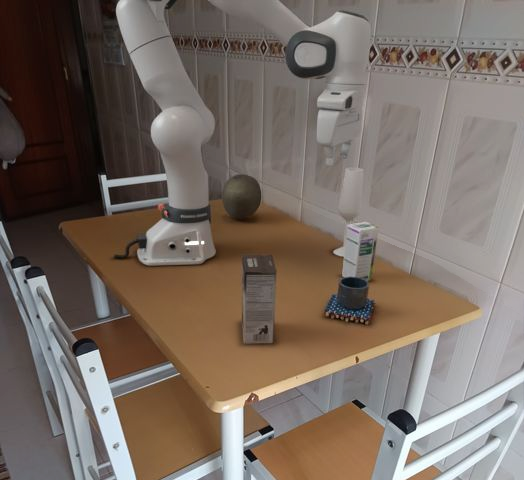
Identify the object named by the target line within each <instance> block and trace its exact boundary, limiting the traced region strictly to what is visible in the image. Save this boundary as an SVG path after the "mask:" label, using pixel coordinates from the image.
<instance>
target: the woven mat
mask: <svg viewBox="0 0 524 480" xmlns="http://www.w3.org/2000/svg"><path fill="white" fill-rule="evenodd" d="M337 294H338V293H335V294H332V295H331V297H330V299H329V301H328V302H327V305H325V308H324V312H323V314H324V315H325V317H330V318H331V319H332V320H333V319H334V318H336V319H339V318H340V320H341V321H343V320H344V319H345V322H349V320H350V321H355V324H357V323H359V322H360V323H361V324H362V323H364V324H365V325H366V326H367V325H369V322H370V321H371V319H373V318H372V317H373V313H374V311H375V307H376V302H375V300H374V299H369V298H367V303H366V305H365V306H364V307H363V308H361V309H358V310H350V309H345V308H343V307H341V306H340V305H339V303H338V302H337Z"/></svg>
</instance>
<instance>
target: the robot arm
mask: <svg viewBox="0 0 524 480" xmlns="http://www.w3.org/2000/svg"><path fill="white" fill-rule="evenodd" d="M177 1H178V0H118V2H117V4H116V8H115V14H116V15H115V16H116V20H117V23H118V27H119V31H120V34H121V37H122V39H123V43H124V44H125V48H126V50H127V52H128V55H129V57H130V60H131V61H132V64H133V66H134V69H135V71H136V73H137V75H138V77H139V80H140V82H141V85H142V86H143V89H144V90H145V92H146V93H148V95H149V96H150V97H152V98H153V100H154V101H155V103H156V104H157V106H158V107H159V108H160V110H161V112H160V113H159V114H158V115H157V116H156V117H155V118H154V120H153V121H152V123H151V125H150V137H151V140H152V143H153V145H154V146H155V148H156V149H157V150H158V151H159V154H160V158H161V160H162V164H163V167H164V172H165V176H166V185H167V197H168V199H167V200H168V203H167V204H166V205H165V204H164V203H163V202H162V203H159V204H158V205H157V208H158V210H159V212H161V215H162V216H161V217H162V218H161V219H160V220H159V221H157V222H156V223H155V224H154V225H153V226H151V227H150V228H149V229H147V231H146V233H145V232H141V233H136V238H135V239H134V240H132V241H130V242H128V243H127V245H126V246H125V253H123V254H113V255H114V256H113V257H114V259H126V258H128V257H129V255H130V249H131V247H132V246H134V245H136V244H137V245H138V249H137V251H136V253H137V255H136V256H137V259H138V260H139V262H140V263H142V264H143V265H146V266H149V267H150V266H154V267H155V266H181V265H182V266H183V265H185V266H187V265H201V264H203V263H204V262H205V261H206V260H208V259H211V258H212V257H214V256H215V255H216V254H217V251H216V247H215V245H214V240H213V234H212V229H211V223H212V207H211V204H210V197H209V175H208V172H207V170H206V169H205V166H204V162H203V158H202V151H201V150H202V149H201V148H202V147H203V146H204V145H205V144H207V143H208V142H209V141H210V140H211V138H212V136H213V135H214V132H215V128H216V120H215V117H214V115H213V113H212V111H211V109H210V108H208V107H207V105H206V104H205V103H204V101H203V99H202V97H201V96H200V94H199V92H198V91H197V89H196V86H194V84H193V82H192V81H191V79H190V77H189V75H188V73H187V71H186V69H185V67H184V64H183V62H182V59H181V57H180V55H179V52H178V50H177V47H176V44H175V42H174V40H173V37H172V34H171V33H170V30H169V28H168V25H167V22H166V18H165V10H170V9H172V8H173V6H174V5H175V4H176V2H177ZM207 2H208V3H210V5H213V6H214V7H216V8H217V9H219V10H220V11H222V12H223V13H225V14H227V15H229V16H232V17H235V18H239V19H242V20H245V21H249V22H251V23H254V24H256V25H258V26H260V27H262V28H263V29H265V30H266V31H267V32H268V33H269V34H270V35H272V36H273V37H274V38H275V39H277V40H278V41H279V42H280V43H281V44H283V46H284V47H285V52H284V53H285V54H284V57H285V63H286V66H287V68H288V70H289V71H290V72H291V74H292V75H294V76H295V77H297V78H299V79H302V80H322V79H325V78H326V80H325V88H324V90H323V91H322V93H321V94H320V95H319V96H318V97H317V99H316V108H317V109H319V110H318V112H317V119H316V123H317V124H316V142H317V145H318V146H320V147H324V154H325V165H326V166H333V165H335V164H336V158H337V157H336V156H335V151H336V146H338V145H341V144H342V147H341V150H340V153H339V158H340V160H341V159H342V160H346V159H349V157H350V152H351V148H352V146H353V142H354V141H353V140H355V139H356V138H359V137H360V135H361V132H362V122H363V107H364V101H365V92H366V86H367V85H366V84H367V79H366V71H367V68H368V64H369V61H370V54H371V40H372V39H371V38H372V29H371V28H372V27H371V23H370V21H369V19H368V18H367V17H366V16H364V15H363V14H359V13H356V12H353V11H348V10H337V11H336V12H334V13H333V15H331V16H330V17H329V18H327V19H326V20H323V21H322V22H320V23H318V24H316V25H313V26H311V25H308V24H307V23H306V22H304V21H303V20H302V19H301V18H299V16H297V15H296V14H295V13H294V12H293V11H291V9H289V8H288V7H287V6H286V5H285V4H284V3H283V2H281V1H280V0H207Z"/></svg>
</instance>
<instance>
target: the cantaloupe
mask: <svg viewBox="0 0 524 480" xmlns="http://www.w3.org/2000/svg"><path fill="white" fill-rule="evenodd" d="M221 201H222V205H223V208H224V210H225V212H226V214H228V215H229V216H230V217H232V218H233V219H235V220H246V219H247V218H250V217H251V216H253V215H254V214H256V212H257V211H258V209H259V208H260V206H261V202H262V188H261V185H260V183H259V180H257V179H256V178H255V177H254V176H251V175H248V174H243V173H241V174H240V173H239V174H235V175H233V176H231V177H230V178H228V179H227V180H226V182H225V183H224V186H223V189H222V191H221Z"/></svg>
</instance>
